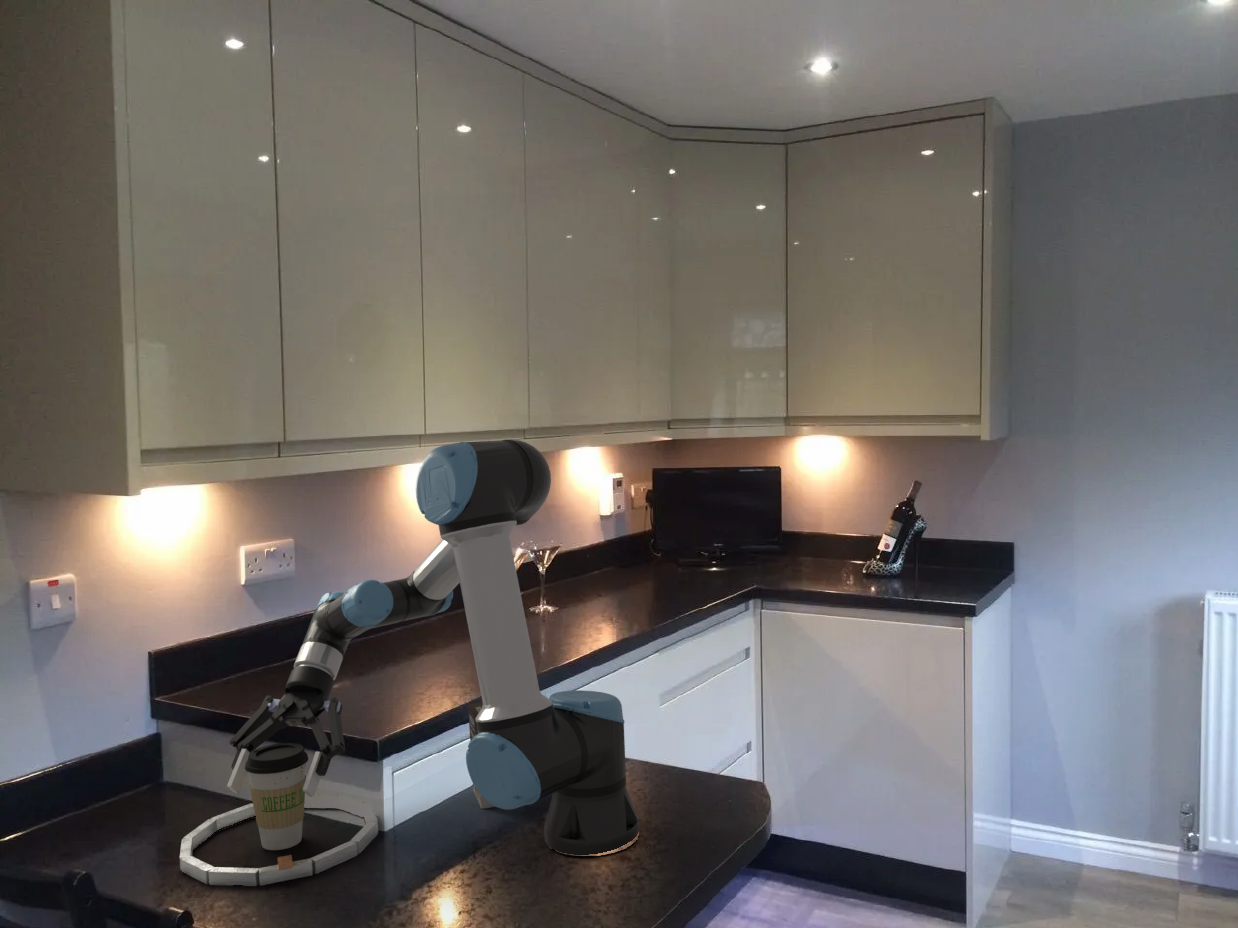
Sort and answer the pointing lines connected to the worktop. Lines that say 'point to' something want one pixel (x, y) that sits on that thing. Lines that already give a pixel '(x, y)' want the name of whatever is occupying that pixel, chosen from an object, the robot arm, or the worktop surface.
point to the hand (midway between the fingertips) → (269, 792)
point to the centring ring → (271, 873)
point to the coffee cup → (278, 793)
